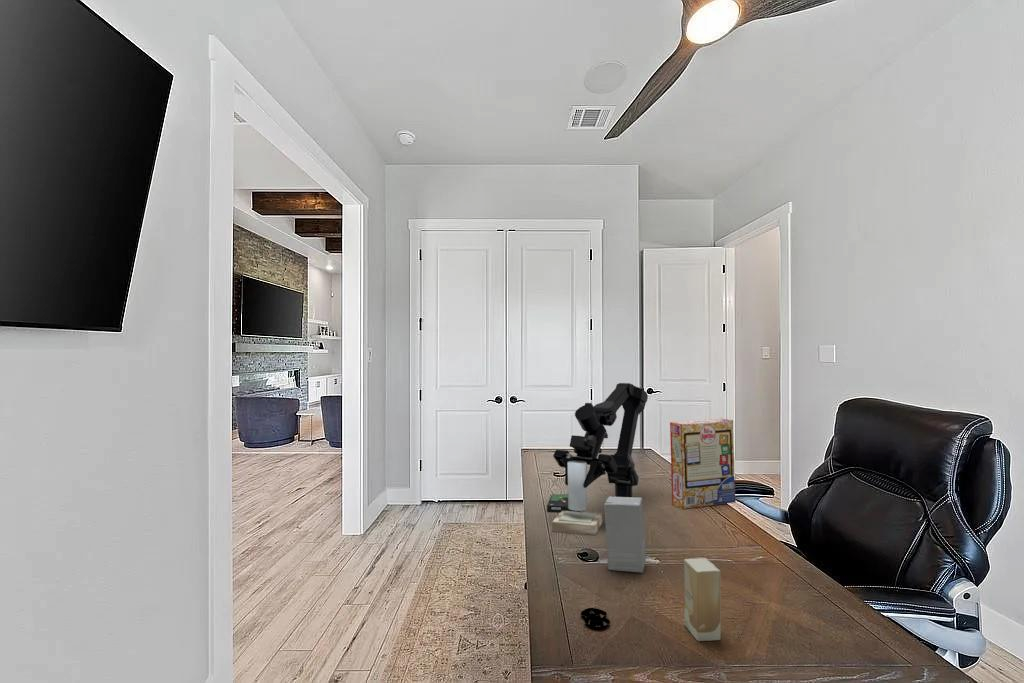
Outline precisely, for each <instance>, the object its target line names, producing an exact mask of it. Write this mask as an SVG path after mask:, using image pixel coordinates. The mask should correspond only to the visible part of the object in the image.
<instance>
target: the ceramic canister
mask: <svg viewBox="0 0 1024 683" xmlns="http://www.w3.org/2000/svg"><path fill="white" fill-rule="evenodd" d="M567 463H568V485H567V494H568V508H569V509H570V510H575V511H580V512H583V511H585V510H588V509H589V508H588V505H589V504H588V503H589V502H588V487H586V488H584V486H583V485H584V481H585V479H586V476H587V474H588V465H587V462H585V461H577V460H576V461H569V462H567Z"/></svg>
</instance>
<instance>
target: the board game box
mask: <svg viewBox="0 0 1024 683" xmlns="http://www.w3.org/2000/svg"><path fill="white" fill-rule="evenodd" d="M669 432H670V434H669V436H670V438H669V440H670V466H671V467H670V469H671V470H670V471H671V472H670V473H671V477H670V478H671V505H672V506H674V507H676V508H678V509H681V510H685V509H691V508H692V509H693V508H698V507H699V508H700V507H701V508H702V507H709V506H715V505H716V506H717V505H725V504H733V503H734V504H735V503H736V488H735V487H736V483H735V482H736V481H735V452H734V450H735V449H734V445H735V444H734V420H733V419H728V418H712V419H699V420H698V419H697V420H687V421H686V420H685V421H672V422H669Z"/></svg>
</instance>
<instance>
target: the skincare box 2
mask: <svg viewBox="0 0 1024 683" xmlns="http://www.w3.org/2000/svg"><path fill="white" fill-rule="evenodd" d="M683 563H684V564H683V565H684V625H685V627H686V628H687V630H688V632H690V634H691V635H692V636H693V638H695V640H696V641H697V642H705V641H707V642H708V641H720V640H721V635H722V634H721V630H722V629H721V570H720V569H719V568H718V567H716V566H715V564H714V563H712V562H711V561H710V560H709V559H708V558H706V557H701V558H700V557H699V558H685V559H684V560H683Z"/></svg>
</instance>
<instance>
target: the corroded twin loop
mask: <svg viewBox="0 0 1024 683" xmlns="http://www.w3.org/2000/svg"><path fill="white" fill-rule="evenodd" d="M607 614H608V613H607V611H605V610H602V609H600V608H596V607H589V608H586V609H585V608H584V610H582V611H581V612H580V615H581V616H582V619H583V622H584V624H585V625H586V626H587V627H588V628H589V629H591V630H596V631H603V630H605V629H606V628H608V627H609V625H610V623H611V621H610V619H609V618H606V616H607Z"/></svg>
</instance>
